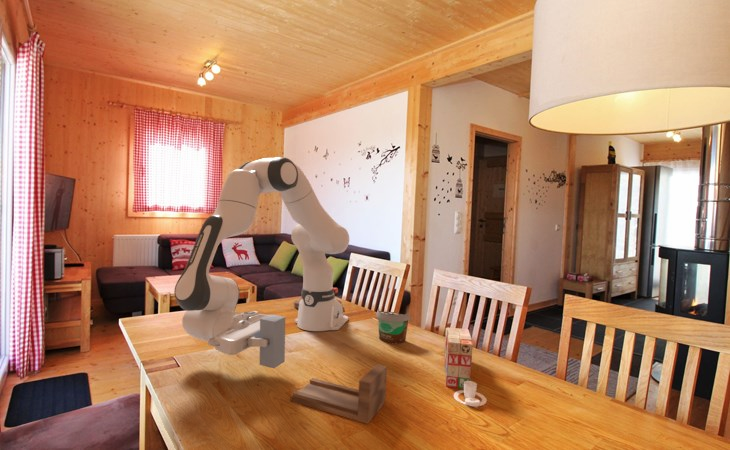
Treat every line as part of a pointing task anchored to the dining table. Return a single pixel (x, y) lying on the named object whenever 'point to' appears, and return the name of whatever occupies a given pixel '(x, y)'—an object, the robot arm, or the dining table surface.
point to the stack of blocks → (457, 356)
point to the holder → (347, 396)
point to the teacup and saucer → (470, 395)
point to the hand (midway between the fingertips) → (275, 339)
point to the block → (272, 340)
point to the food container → (392, 326)
